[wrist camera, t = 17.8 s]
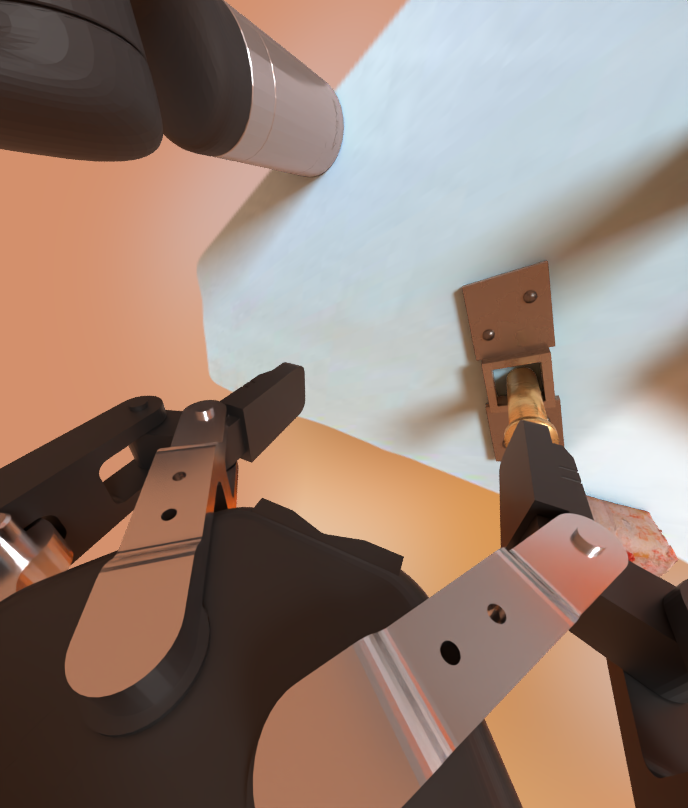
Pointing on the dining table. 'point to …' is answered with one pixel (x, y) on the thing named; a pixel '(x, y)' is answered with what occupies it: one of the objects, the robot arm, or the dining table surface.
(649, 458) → the dining table surface
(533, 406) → the hinge pin
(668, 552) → the food item
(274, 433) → the robot arm
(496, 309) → the hinge leaves
